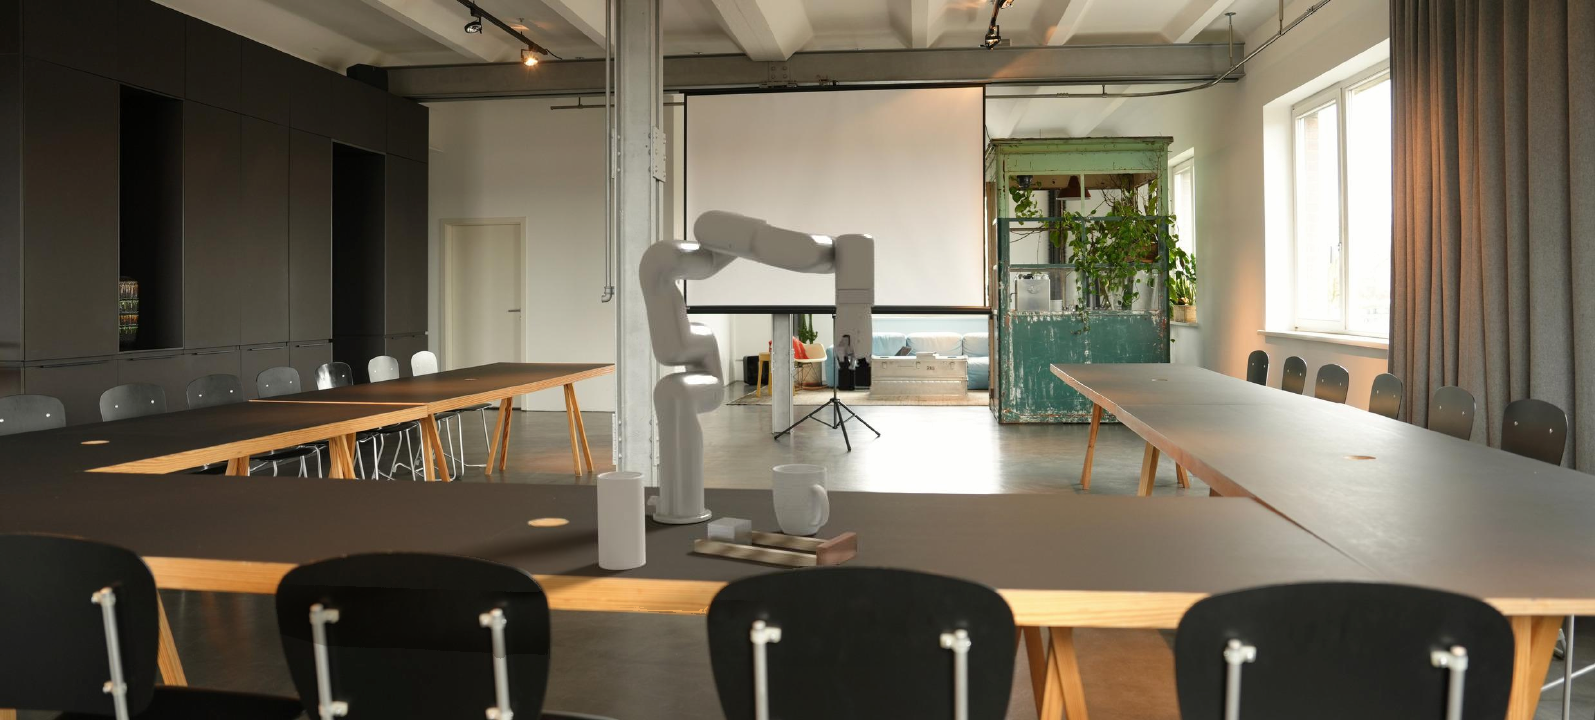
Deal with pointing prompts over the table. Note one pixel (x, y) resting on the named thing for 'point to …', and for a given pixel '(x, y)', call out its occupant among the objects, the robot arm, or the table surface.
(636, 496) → the cup
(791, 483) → the mug
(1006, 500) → the table surface
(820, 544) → the u-shaped frame
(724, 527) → the block
